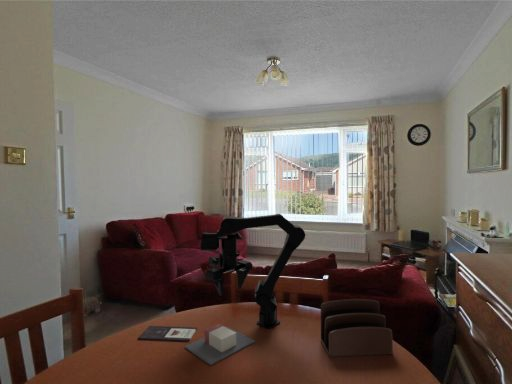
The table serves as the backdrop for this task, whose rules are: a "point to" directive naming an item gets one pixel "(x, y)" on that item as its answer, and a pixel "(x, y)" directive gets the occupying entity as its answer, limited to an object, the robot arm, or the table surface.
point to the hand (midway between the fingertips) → (230, 292)
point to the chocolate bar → (168, 333)
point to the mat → (214, 355)
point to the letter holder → (354, 328)
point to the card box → (220, 337)
